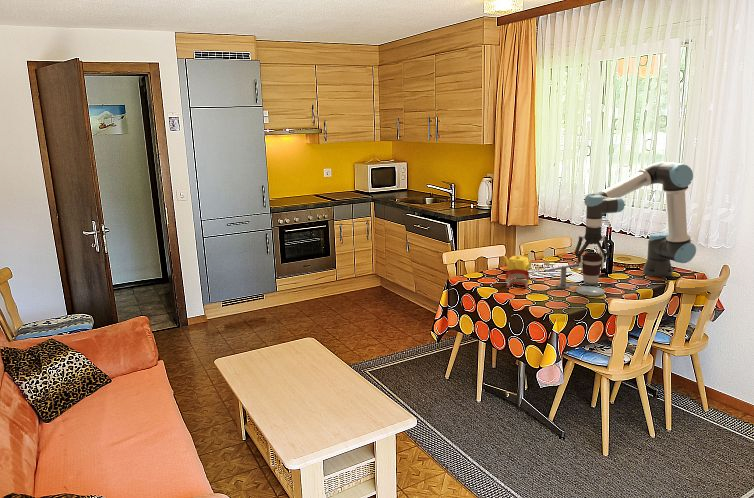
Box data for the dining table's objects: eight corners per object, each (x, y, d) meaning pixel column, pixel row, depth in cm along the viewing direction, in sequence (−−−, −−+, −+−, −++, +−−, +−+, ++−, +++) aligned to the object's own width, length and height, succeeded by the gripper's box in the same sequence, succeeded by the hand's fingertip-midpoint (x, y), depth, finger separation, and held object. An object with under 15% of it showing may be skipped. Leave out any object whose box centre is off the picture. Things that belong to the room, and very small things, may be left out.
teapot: (535, 273, 328) (535, 257, 326) (513, 275, 325) (513, 260, 323) (523, 266, 342) (523, 251, 340) (501, 269, 339) (502, 254, 337)
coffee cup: (602, 284, 284) (604, 256, 280) (582, 284, 286) (583, 256, 282) (599, 278, 293) (600, 251, 290) (579, 278, 295) (580, 251, 292)
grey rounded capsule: (596, 281, 309) (597, 265, 307) (599, 285, 302) (600, 269, 300) (583, 281, 310) (584, 265, 308) (585, 285, 303) (586, 269, 301)
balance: (581, 284, 304) (582, 261, 301) (583, 288, 298) (585, 264, 295) (542, 284, 307) (543, 261, 304) (544, 288, 301) (544, 264, 298)
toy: (530, 283, 311) (530, 269, 309) (528, 289, 301) (529, 275, 299) (507, 282, 315) (507, 268, 313) (505, 287, 305) (505, 273, 303)
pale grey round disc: (600, 288, 297) (601, 286, 297) (607, 297, 284) (607, 294, 283) (573, 288, 299) (573, 286, 299) (578, 296, 286) (579, 294, 285)
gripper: (614, 224, 284) (612, 266, 290) (569, 224, 288) (567, 266, 293) (618, 227, 277) (616, 270, 283) (572, 227, 281) (570, 270, 286)
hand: (591, 268), depth 288 cm, fingers closed on coffee cup, 10 cm apart
